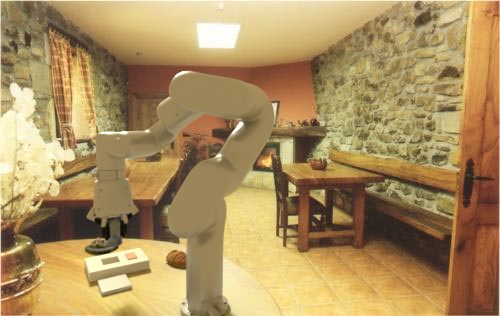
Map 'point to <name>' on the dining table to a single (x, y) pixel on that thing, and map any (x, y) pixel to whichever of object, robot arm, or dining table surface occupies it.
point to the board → (116, 264)
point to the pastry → (176, 258)
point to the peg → (114, 230)
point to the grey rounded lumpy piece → (100, 247)
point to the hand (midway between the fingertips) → (114, 236)
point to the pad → (114, 284)
